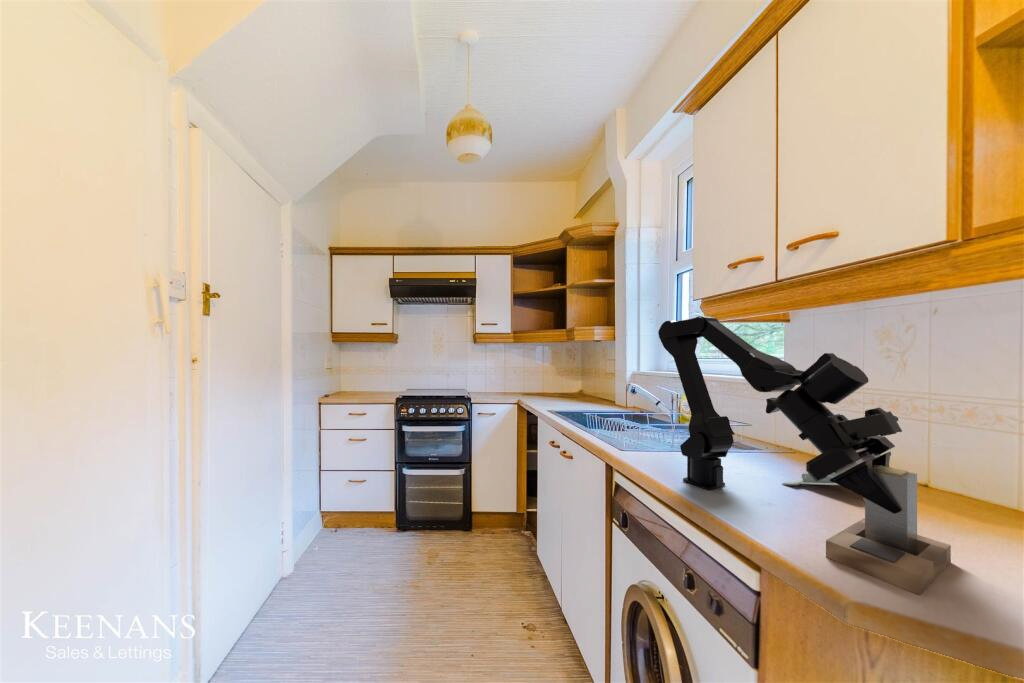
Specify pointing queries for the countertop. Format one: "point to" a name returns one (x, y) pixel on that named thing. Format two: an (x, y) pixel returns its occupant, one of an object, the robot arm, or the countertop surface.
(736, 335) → the robot arm
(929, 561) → the plate with square hole
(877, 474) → the grey tall block
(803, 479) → the metal bracket
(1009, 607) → the countertop surface
